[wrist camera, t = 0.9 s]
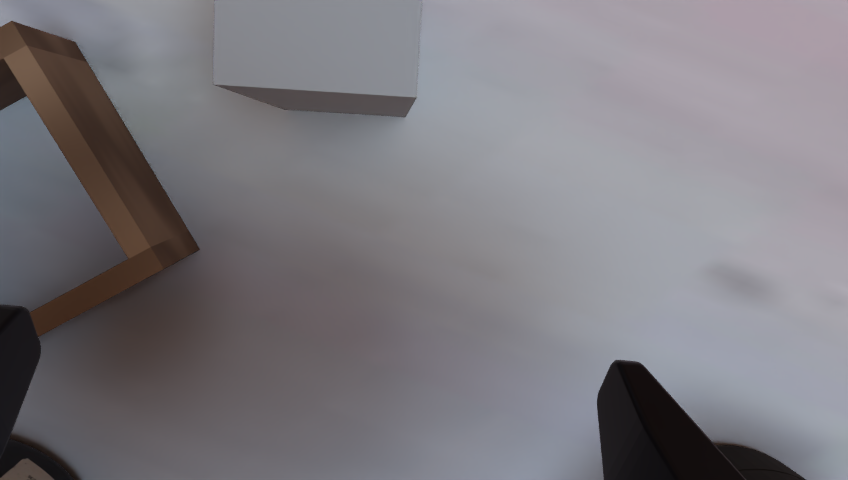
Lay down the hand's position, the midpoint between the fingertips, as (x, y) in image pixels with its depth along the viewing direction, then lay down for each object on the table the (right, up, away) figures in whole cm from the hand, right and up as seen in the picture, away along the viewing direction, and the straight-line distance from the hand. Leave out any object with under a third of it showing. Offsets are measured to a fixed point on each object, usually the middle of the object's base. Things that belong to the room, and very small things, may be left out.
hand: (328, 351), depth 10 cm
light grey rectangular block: (-1, +9, +14) cm, 16 cm away
